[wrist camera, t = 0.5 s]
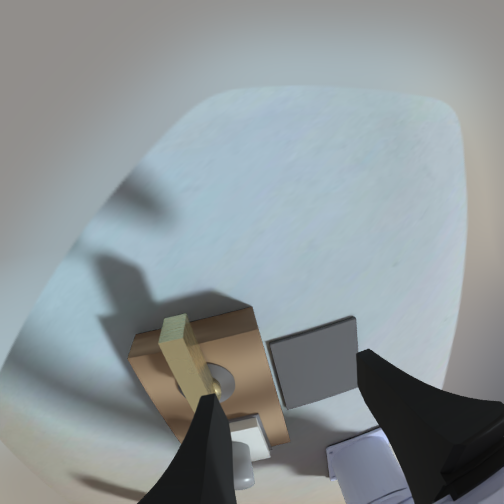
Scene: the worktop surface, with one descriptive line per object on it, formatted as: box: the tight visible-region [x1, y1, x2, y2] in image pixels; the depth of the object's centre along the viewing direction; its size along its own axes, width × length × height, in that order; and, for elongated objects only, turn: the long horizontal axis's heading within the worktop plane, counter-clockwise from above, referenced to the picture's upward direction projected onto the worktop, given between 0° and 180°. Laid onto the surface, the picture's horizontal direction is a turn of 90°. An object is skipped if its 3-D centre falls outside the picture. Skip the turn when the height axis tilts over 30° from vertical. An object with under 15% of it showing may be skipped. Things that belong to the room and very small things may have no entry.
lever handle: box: [158, 313, 221, 413], centre depth 18 cm, size 7×2×3 cm, turn 13°
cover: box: [229, 417, 270, 490], centre depth 20 cm, size 5×5×4 cm
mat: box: [269, 317, 358, 410], centre depth 24 cm, size 8×7×1 cm
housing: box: [127, 307, 290, 450], centre depth 22 cm, size 13×9×3 cm
